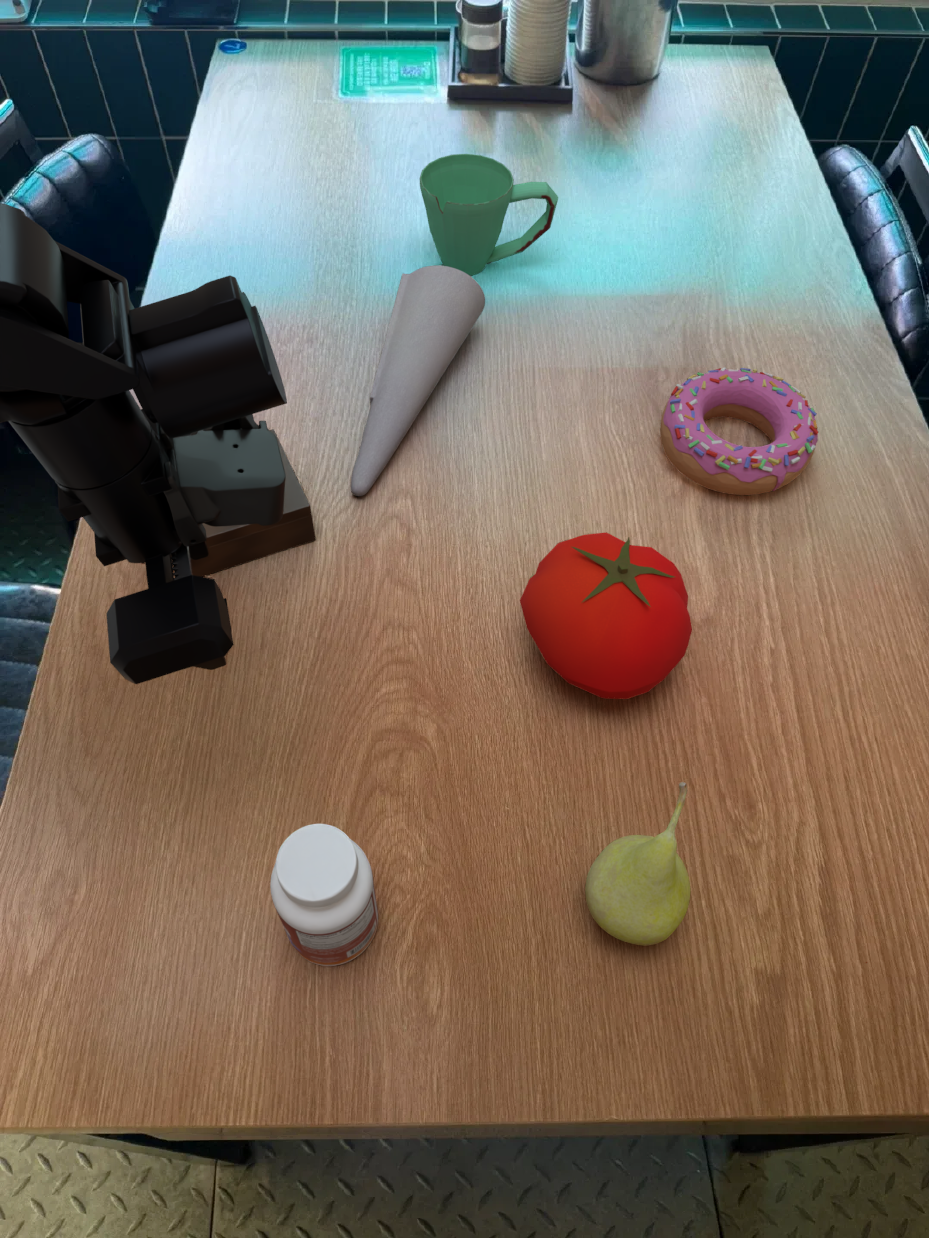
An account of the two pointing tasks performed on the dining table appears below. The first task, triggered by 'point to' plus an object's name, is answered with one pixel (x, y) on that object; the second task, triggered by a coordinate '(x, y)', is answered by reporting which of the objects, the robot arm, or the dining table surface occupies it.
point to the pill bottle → (324, 895)
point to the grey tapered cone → (414, 359)
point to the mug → (477, 209)
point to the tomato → (608, 615)
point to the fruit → (640, 885)
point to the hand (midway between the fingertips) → (209, 609)
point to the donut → (749, 401)
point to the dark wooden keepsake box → (260, 531)
